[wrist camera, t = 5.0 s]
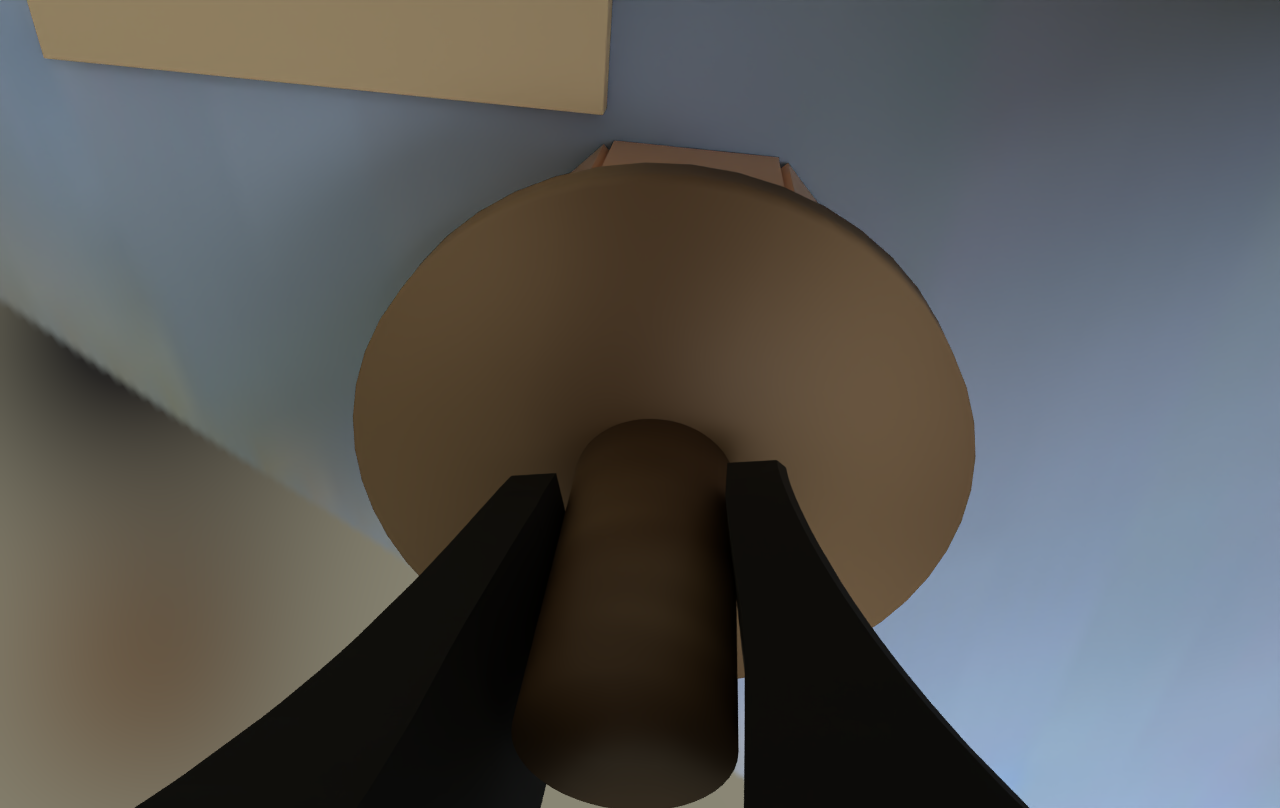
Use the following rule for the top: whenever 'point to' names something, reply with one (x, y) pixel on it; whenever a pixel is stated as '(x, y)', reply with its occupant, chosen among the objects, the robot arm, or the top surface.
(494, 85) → the mat
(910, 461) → the lid
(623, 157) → the bowl
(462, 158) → the top surface
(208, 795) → the robot arm
